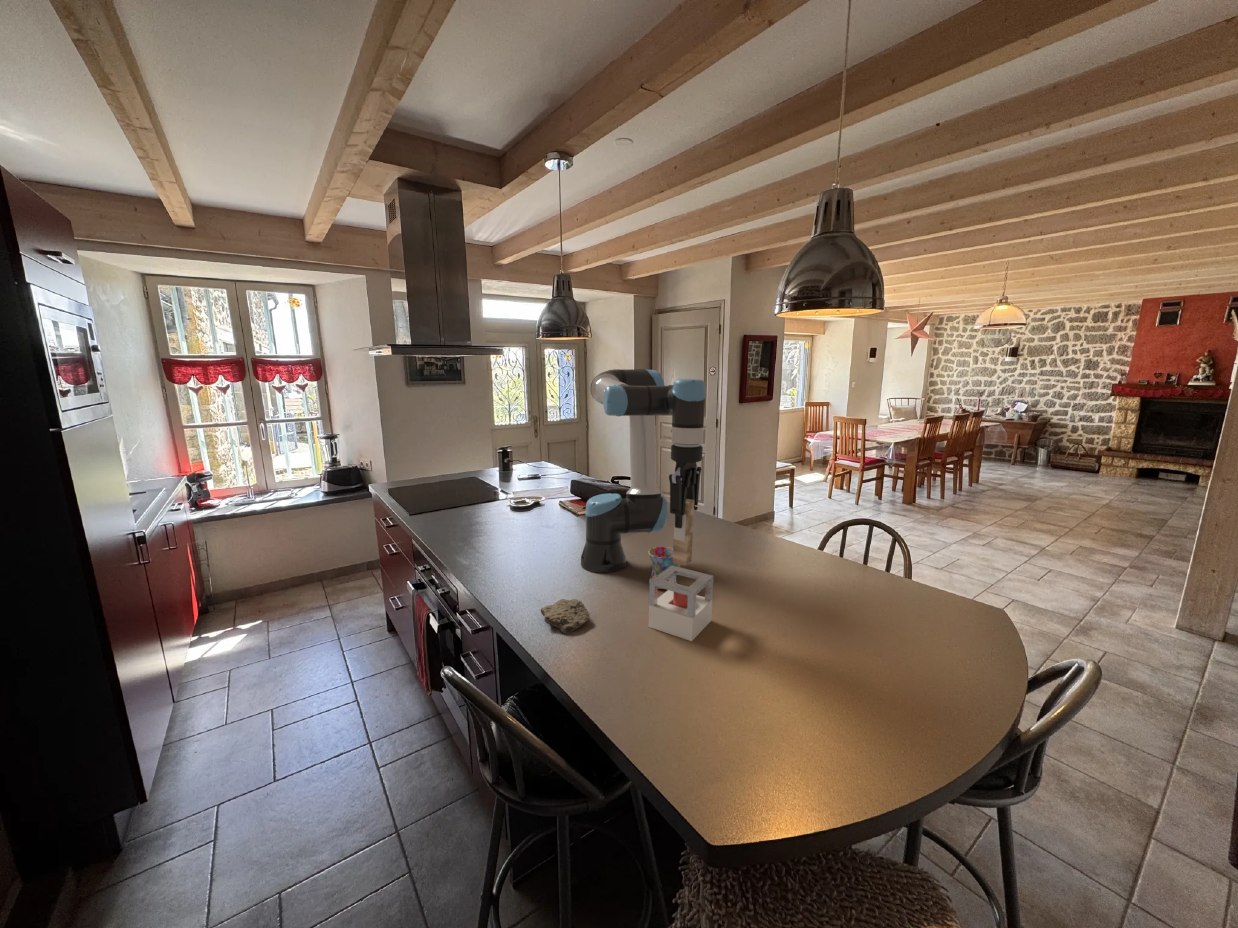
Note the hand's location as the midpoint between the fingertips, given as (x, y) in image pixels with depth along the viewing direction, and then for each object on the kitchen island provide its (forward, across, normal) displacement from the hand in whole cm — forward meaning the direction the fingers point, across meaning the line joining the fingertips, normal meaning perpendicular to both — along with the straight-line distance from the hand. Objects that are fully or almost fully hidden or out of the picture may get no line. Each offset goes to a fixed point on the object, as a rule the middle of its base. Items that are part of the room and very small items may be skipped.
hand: (683, 536), depth 122 cm
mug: (+24, -19, -14) cm, 33 cm away
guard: (+17, 0, 0) cm, 17 cm away
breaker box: (+23, 0, 0) cm, 23 cm away
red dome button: (+22, 0, 0) cm, 22 cm away
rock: (+24, +16, -25) cm, 38 cm away
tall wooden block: (+7, 0, 0) cm, 7 cm away
